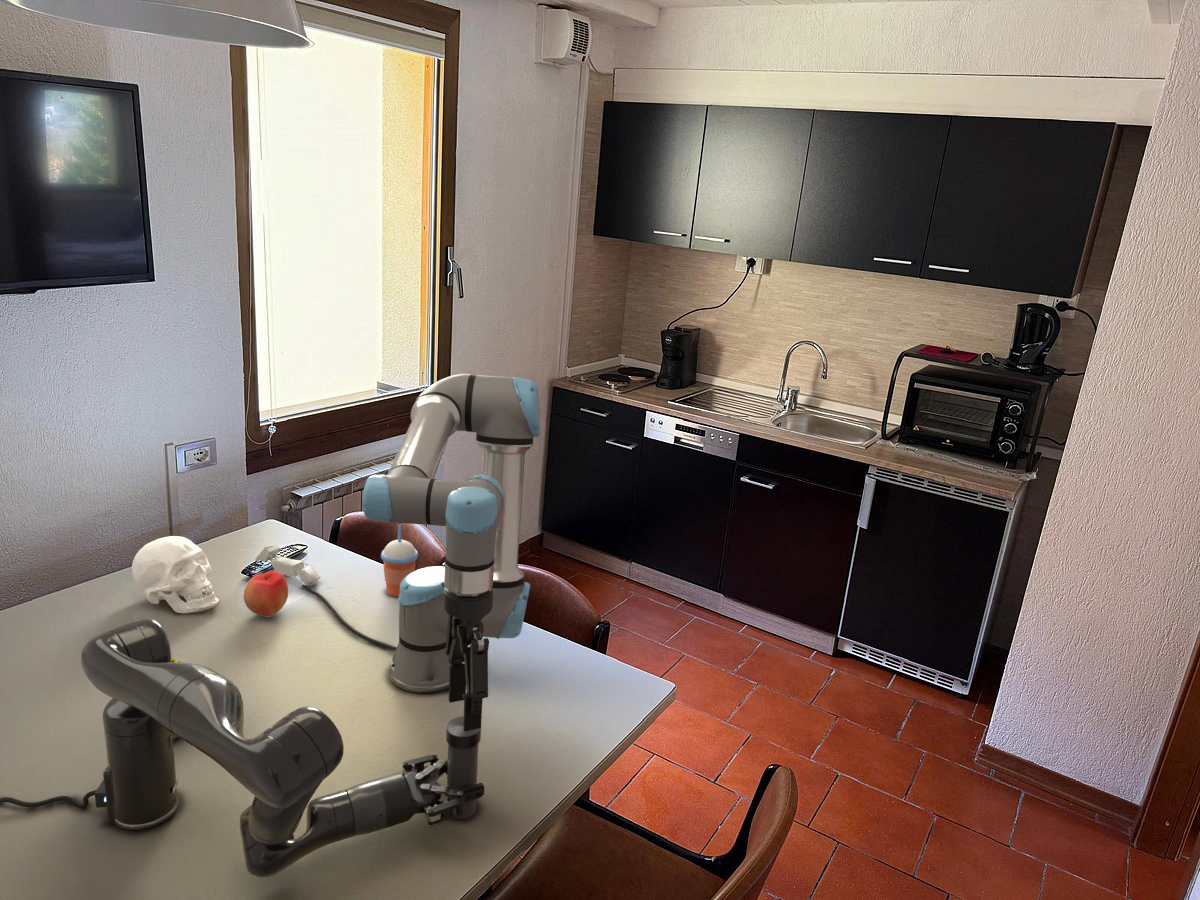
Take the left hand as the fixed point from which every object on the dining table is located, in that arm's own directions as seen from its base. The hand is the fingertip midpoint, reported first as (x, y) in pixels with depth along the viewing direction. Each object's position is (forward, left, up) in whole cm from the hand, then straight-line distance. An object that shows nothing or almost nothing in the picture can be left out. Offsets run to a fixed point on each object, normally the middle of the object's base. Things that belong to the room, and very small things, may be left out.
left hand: (474, 775), depth 144 cm
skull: (-72, +70, -6) cm, 101 cm away
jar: (-2, -1, -6) cm, 6 cm away
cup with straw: (-22, +78, -6) cm, 81 cm away
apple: (-51, +65, -6) cm, 82 cm away
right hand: (-2, -1, +13) cm, 13 cm away
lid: (-2, -1, +10) cm, 10 cm away
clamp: (-51, +85, -6) cm, 100 cm away
